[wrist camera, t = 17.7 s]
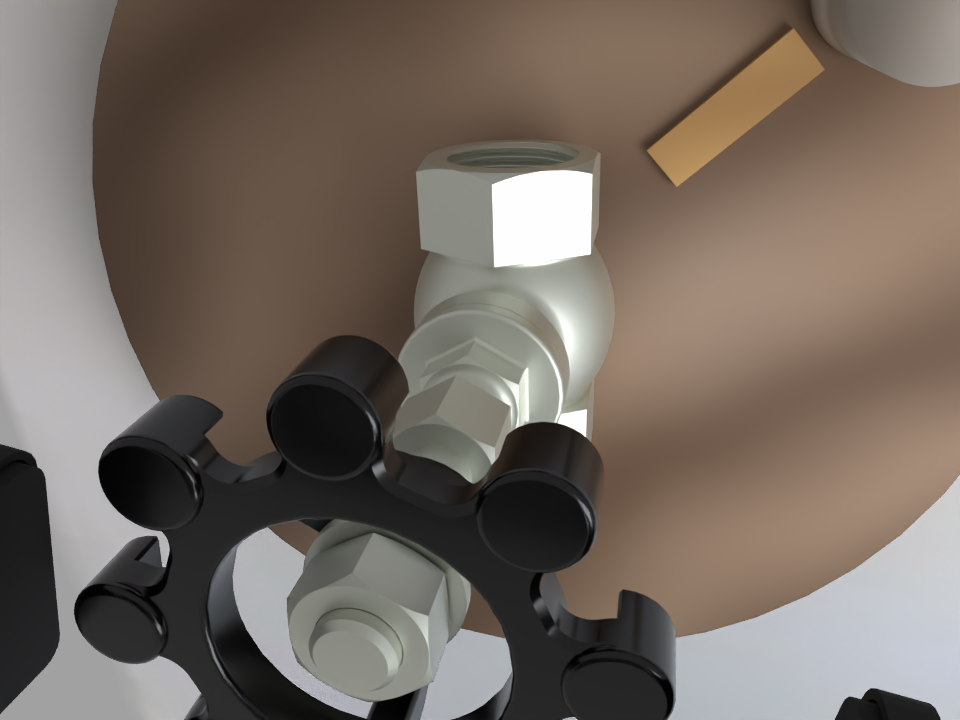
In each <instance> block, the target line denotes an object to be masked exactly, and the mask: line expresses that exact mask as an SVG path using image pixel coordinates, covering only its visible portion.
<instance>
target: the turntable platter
mask: <svg viewBox="0 0 960 720" xmlns="http://www.w3.org/2000/svg"><path fill="white" fill-rule="evenodd" d="M494 140H551V141H562V142H569V143H575V144H580V145H584V146H587V147H590V148H592V149H594V150H596V151H598V152H599V153H601V159H600V194H599V227H598V230H597V234H596V237H595V240H594V246H595V247H596V249H597V250H598V252H599V254H600V256H601V257H602V259H603V262H604V264H605V266H606V269H607V271H608V274H609V278H610V281H611V285H612V289H613V295H614V304H615V318H614V326H613V334H612V339H611V342H610V345H609V348H608V352H607V354H606V357H605V360H604V362H603V364H602V366H601V368H600V370H599V372H598V373H597V375H596V376H595V378H594V406H593V431H592V439H591V443H592V444H593V445H594V446H595V448H596V449H597V451H598V452H599V454H600V457H601V459H602V462H603V465H604V472H605V478H604V486H603V493H602V500H601V508H600V515H599V523H598V530H597V535H596V539H595V541H594V544H593V546H592V548H591V550H590V551H589V552H588V553H587V554H586V556H585V557H584V558H583V559H582V560H580V561H579V562H577V563H576V564H575V565H573V566H572V567H569V568H566V569H564V570H561V571H558V572H555V574H556V576H557V578H558V580H559V583H560V585H561V587H562V590H563V593H564V597H565V600H566V603H567V607H568V612H570V613H571V614H573V615H575V616H577V617H580V618H584V619H589V620H598V619H607V618H617V610H618V599H619V592H620V591H621V590H622V589H625V590H631V591H635V592H638V593H641V594H643V595H646V596H648V597H649V598H651V599H653V600H654V601H656V602H657V603H658V604H659V605H660V606H662V607H663V608H664V609H665V610H666V612H667V613H668V614H669V616H670V618H671V620H672V622H673V624H674V628H675V638H677V637H682V636H687V635H693V634H698V633H704V632H708V631H711V630H715V629H718V628H721V627H725V626H728V625H731V624H735V623H738V622H741V621H745V620H748V619H752V618H755V617H758V616H760V615H762V614H765V613H767V612H770V611H772V610H774V609H777V608H779V607H781V606H784V605H786V604H788V603H791V602H793V601H796V600H798V599H800V598H803V597H805V596H807V595H809V594H811V593H812V592H814V591H816V590H818V589H820V588H821V587H823V586H825V585H827V584H828V583H830V582H832V581H834V580H835V579H837V578H839V577H841V576H842V575H844V574H846V573H848V572H850V571H851V570H853V569H855V568H856V567H858V566H859V565H860V564H862V563H863V562H864V561H866V560H867V559H868V558H870V557H871V556H873V555H874V554H875V553H877V552H878V551H879V550H881V549H882V548H883V547H885V546H886V545H887V544H889V543H890V542H892V541H893V540H894V539H896V538H897V537H898V536H900V535H901V534H902V533H903V532H904V531H905V530H906V529H907V528H909V527H910V526H911V525H912V524H913V523H914V522H915V521H916V520H917V519H918V518H919V517H920V516H921V515H922V514H923V513H924V512H925V511H926V510H928V509H929V508H930V507H931V506H932V505H933V504H934V503H935V502H936V501H937V500H938V499H939V498H940V497H941V496H942V495H943V494H944V493H945V492H946V491H947V490H948V488H949V487H950V486H951V485H952V484H953V482H954V481H955V480H956V479H957V477H958V476H959V475H960V0H119V1H118V3H117V6H116V9H115V13H114V17H113V21H112V24H111V28H110V32H109V36H108V39H107V43H106V47H105V51H104V54H103V58H102V62H101V66H100V74H99V81H98V89H97V97H96V104H95V112H94V119H93V190H94V199H95V207H96V216H97V225H98V233H99V240H100V244H101V248H102V252H103V257H104V261H105V265H106V270H107V274H108V278H109V282H110V287H111V291H112V294H113V296H114V299H115V302H116V305H117V308H118V310H119V313H120V316H121V319H122V322H123V324H124V327H125V330H126V333H127V336H128V338H129V341H130V343H131V345H132V347H133V349H134V351H135V353H136V355H137V358H138V360H139V362H140V364H141V366H142V368H143V370H144V372H145V374H146V376H147V378H148V380H149V382H150V384H151V386H152V388H153V390H154V391H155V393H156V395H157V396H158V398H159V400H160V401H161V400H163V399H165V398H167V397H170V396H175V395H191V396H196V397H199V398H202V399H205V400H206V401H208V402H210V403H212V404H214V405H215V406H217V407H218V408H219V409H220V410H222V411H223V417H222V418H221V419H220V420H219V421H218V422H217V423H216V424H215V425H214V426H213V427H212V428H211V429H210V430H209V431H208V432H207V433H206V434H205V436H206V437H207V438H208V439H209V440H210V442H211V443H212V444H213V446H214V447H215V449H216V450H217V451H218V453H220V454H221V455H222V456H223V457H224V458H225V459H227V460H228V461H230V462H232V463H234V464H237V465H240V466H244V465H245V464H247V463H249V462H251V461H253V460H255V459H257V458H259V457H261V456H262V455H265V454H268V453H271V452H274V451H276V448H275V447H274V445H273V443H272V441H271V439H270V437H269V434H268V430H267V426H266V410H267V405H268V401H269V399H270V397H271V395H272V393H273V391H274V390H275V389H276V387H277V386H278V385H279V384H280V383H281V382H282V381H283V380H284V379H285V378H286V377H287V376H288V375H289V374H290V373H291V372H292V371H293V370H294V369H295V368H296V367H297V365H298V364H299V363H300V362H301V361H302V360H303V359H304V358H305V357H306V356H307V355H308V354H309V353H310V352H311V351H312V350H313V349H314V348H315V347H316V346H317V345H318V344H319V343H321V342H323V341H324V340H326V339H329V338H331V337H335V336H340V335H355V336H361V337H365V338H368V339H370V340H373V341H375V342H377V343H378V344H380V345H382V346H383V347H385V348H386V349H387V350H388V351H389V352H391V353H392V354H393V355H394V356H395V358H396V359H397V360H398V358H399V354H400V352H401V350H402V348H403V346H404V344H405V342H406V341H407V339H408V338H409V337H410V335H411V334H412V333H413V331H414V330H415V324H414V300H415V292H416V287H417V283H418V279H419V276H420V273H421V270H422V267H423V265H424V263H425V260H426V258H427V256H428V254H429V253H430V251H427V250H423V249H421V241H420V226H419V210H418V195H417V179H416V171H417V169H418V167H419V166H420V164H421V163H422V161H423V160H424V159H425V158H426V156H427V155H428V154H430V153H432V152H434V151H436V150H439V149H442V148H445V147H449V146H454V145H459V144H465V143H473V142H482V141H494ZM400 409H401V406H400V408H399V409H398V411H397V413H396V415H397V414H398V412H399V411H400ZM268 528H269V529H271V530H272V531H273V532H274V533H275V534H276V535H277V536H279V537H280V538H281V539H282V540H284V541H285V542H286V543H288V544H289V545H291V546H292V547H294V548H295V549H296V550H298V551H299V552H301V553H302V554H304V555H305V556H306V555H307V552H308V550H309V548H310V547H311V545H312V543H313V542H314V540H315V539H316V537H317V535H318V534H319V533H318V532H317V531H315V530H313V529H311V528H310V527H308V526H306V525H304V524H303V523H301V522H299V521H297V520H296V521H291V522H286V523H281V524H276V525H272V526H269V527H268ZM461 628H462V629H467V630H471V631H475V632H480V633H484V634H488V635H493V636H497V637H502V638H505V636H504V633H503V630H502V628H501V625H500V624H499V622H498V620H497V619H496V617H495V615H494V614H493V612H492V611H491V609H490V607H489V606H488V604H487V602H486V601H485V600H484V599H483V598H482V597H481V596H480V594H479V593H478V592H477V591H476V590H475V589H474V590H473V593H472V596H471V599H470V603H469V606H468V610H467V613H466V616H465V619H464V621H463V624H462V626H461Z"/></svg>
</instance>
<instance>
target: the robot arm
mask: <svg viewBox="0 0 960 720" xmlns="http://www.w3.org/2000/svg"><path fill="white" fill-rule="evenodd" d="M59 636H60V632H59V620H58V610H57V600H56V588H55V578H54V567H53V556H52V546H51V534H50V524H49V513H48V502H47V491H46V481H45V476H44V473H43V471H42V470H41V469H39V468H37V464H36V460H35V458H34V457H33V456H32V454H30V453H28V452H26V451H23V450H19V449H15V448H12V447H9V446H5V445H1V444H0V714H1V712H2V711H3V710H4V709H5V708H6V707H7V706H8V705H9V704H10V703H11V702H12V701H13V700H14V699H15V698H16V697H17V696H18V695H19V694H20V693H21V692H22V691H23V690H24V689H25V688H26V687H27V685H29V684H30V683H31V682H32V681H33V680H34V678H35V677H36V676H37V675H38V674H39V673H40V672H41V671H42V670H43V669H44V668H45V667H46V666H47V665H48V663H49V662H50V661H51V659H52V657H53V656H54V654H55V652H56V649H57V647H58V643H59ZM835 720H941V719H940V717H939V715H938V713H937V711H936V709H935V708H934V707H933V706H932V705H931V704H929V703H926V702H922V701H919V700H915V699H911V698H908V697H904V696H901V695H897V694H894V693H890V692H886V691H883V690H879V689H874V688H871V689H869V690H868V691H867V692H866V693H865V694H864V696H863V697H862V699H857V698H854V697H848V698H846V699H845V701H844V702H843V704H842V706H841V708H840V710H839V712H838V714H837V716H836V718H835Z"/></svg>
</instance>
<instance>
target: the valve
mask: <svg viewBox="0 0 960 720" xmlns="http://www.w3.org/2000/svg"><path fill="white" fill-rule="evenodd" d="M600 159H601V153H599V152H598V151H596V150H594V149H592V148H590V147H587V146H584V145H580V144H575V143H569V142H562V141H551V140H494V141H482V142H473V143H465V144H459V145H454V146H449V147H445V148H442V149H439V150H436V151H434V152H432V153H430V154H428V155H427V156H426V158H425V159H424V160H423V161H422V163H421V164H420V166H419V167H418V169H417V171H416V179H417V195H418V210H419V226H420V241H421V249H423V250H427V251H430V253H429V254H428V256H427V258H426V260H425V263H424V265H423V267H422V270H421V273H420V276H419V279H418V283H417V287H416V292H415V300H414V324H415V330H414V331H413V333H412V334H411V335H410V337H409V338H408V339H407V341H406V342H405V344H404V346H403V348H402V350H401V352H400V354H399V358H398V360H397V359H396V358H395V356H394V355H393V354H392V353H391V352H389V351H388V350H387V349H386V348H385V347H383V346H382V345H380V344H378V343H377V342H375V341H373V340H370V339H368V338H365V337H361V336H355V335H340V336H335V337H331V338H329V339H326V340H324V341H323V342H321V343H319V344H318V345H317V346H316V347H315V348H314V349H313V350H312V351H311V352H310V353H309V354H308V355H307V356H306V357H305V358H304V359H303V360H302V361H301V362H300V363H299V364H298V365H297V367H296V368H295V369H294V370H293V371H292V372H291V373H290V374H289V375H288V376H287V377H286V378H285V379H284V380H283V381H282V382H281V383H280V384H279V385H278V386H277V387H276V389H275V390H274V391H273V393H272V395H271V397H270V399H269V401H268V405H267V410H266V426H267V430H268V434H269V437H270V439H271V441H272V443H273V445H274V447H275V448H276V451H274V452H271V453H268V454H265V455H262V456H261V457H259V458H257V459H255V460H253V461H251V462H249V463H247V464H245V465H244V466H240V465H237V464H234V463H232V462H230V461H228V460H227V459H225V458H224V457H223V456H222V455H221V454H220V453H218V451H217V450H216V449H215V447H214V446H213V444H212V443H211V442H210V440H209V439H208V438H207V437H206V436H205V434H206V433H207V432H208V431H209V430H210V429H211V428H212V427H213V426H214V425H215V424H216V423H217V422H218V421H219V420H220V419H221V418H222V417H223V411H222V410H220V409H219V408H218V407H217V406H215V405H214V404H212V403H210V402H208V401H206V400H205V399H202V398H199V397H196V396H191V395H175V396H170V397H167V398H165V399H163V400H161V401H160V402H158V403H157V404H156V405H155V406H154V407H152V408H151V409H150V410H149V411H148V412H146V413H145V414H144V415H143V416H142V417H140V418H139V419H138V420H137V421H136V422H134V423H133V424H132V425H131V426H130V427H128V428H127V429H126V430H125V431H124V432H122V433H121V434H120V435H119V436H118V437H116V438H115V439H114V440H113V441H112V442H110V443H109V444H108V445H107V447H106V448H105V449H104V451H103V453H102V455H101V458H100V460H99V468H98V474H99V480H100V484H101V486H102V489H103V492H104V493H105V495H106V497H107V499H108V500H109V501H110V503H111V504H112V505H113V507H114V508H115V509H116V510H117V511H118V512H119V513H121V514H122V515H123V516H124V517H126V518H127V519H128V520H130V521H132V522H133V523H135V524H137V525H139V526H142V527H144V528H147V529H151V530H156V531H162V532H163V533H164V535H165V536H166V537H167V539H168V542H169V546H170V552H169V557H168V561H167V565H166V567H162V562H161V554H160V547H159V540H158V538H157V536H144V537H138V538H136V539H133V540H132V541H130V542H129V543H128V544H126V545H125V546H124V547H123V549H122V550H121V551H120V552H119V553H118V554H117V555H116V556H115V557H114V558H113V559H112V560H111V561H110V562H109V563H108V564H107V565H106V566H105V567H104V568H103V569H102V570H101V571H100V573H99V574H98V575H97V576H96V577H95V578H94V579H93V580H92V581H91V582H90V583H89V584H88V585H87V586H86V587H85V588H84V589H83V590H82V591H81V593H80V594H79V595H78V598H77V600H76V602H75V607H74V615H75V620H76V623H77V626H78V628H79V630H80V632H81V634H82V635H83V637H84V638H85V639H86V640H87V641H88V642H89V643H90V644H91V645H92V646H93V647H94V648H95V649H96V650H98V651H99V652H100V653H102V654H104V655H105V656H107V657H109V658H111V659H113V660H116V661H119V662H123V663H128V664H140V663H147V662H149V661H151V660H154V659H155V658H157V657H158V656H162V657H165V658H167V659H169V660H171V661H173V662H175V663H176V664H178V665H179V666H180V667H182V668H183V669H184V670H185V671H186V672H187V673H188V675H189V676H190V678H191V679H192V680H193V682H194V683H195V685H196V686H197V688H198V689H199V691H200V692H201V694H200V696H199V697H198V699H197V700H196V702H195V704H194V705H193V707H192V708H191V710H190V711H189V713H188V714H187V716H186V717H185V719H184V720H420V718H421V715H422V711H423V707H424V703H425V699H426V694H427V689H428V684H429V683H431V682H433V681H434V678H435V675H436V672H437V669H438V666H439V663H440V660H441V657H442V654H443V651H444V649H445V646H446V644H447V643H448V642H449V641H450V640H451V639H452V638H453V637H454V636H455V635H456V634H457V633H458V631H459V630H460V628H461V626H462V624H463V621H464V619H465V616H466V613H467V610H468V606H469V603H470V599H471V596H472V593H473V590H474V589H475V590H476V591H477V592H478V593H479V594H480V596H481V597H482V598H483V599H484V600H485V601H486V602H487V604H488V606H489V607H490V609H491V611H492V612H493V614H494V615H495V617H496V619H497V620H498V622H499V624H500V625H501V628H502V630H503V633H504V636H505V638H506V641H507V643H508V646H509V651H510V658H511V664H512V673H511V675H510V676H509V678H508V680H507V682H506V683H505V685H504V687H503V688H502V689H501V690H500V691H499V692H498V693H497V694H495V695H494V696H493V697H492V698H491V699H490V700H489V701H488V702H487V703H486V704H484V705H483V706H481V707H480V708H478V709H476V710H475V711H473V712H471V713H469V714H466V715H464V716H461V717H459V718H456V719H452V720H562V719H564V718H568V717H575V718H577V719H578V720H668V718H669V716H670V715H671V713H672V711H673V709H674V705H675V701H676V652H675V628H674V624H673V622H672V620H671V618H670V616H669V614H668V613H667V612H666V610H665V609H664V608H663V607H662V606H660V605H659V604H658V603H657V602H656V601H654V600H653V599H651V598H649V597H648V596H646V595H643V594H641V593H638V592H635V591H631V590H625V589H622V590H621V591H620V592H619V599H618V610H617V618H607V619H598V620H589V619H584V618H580V617H577V616H575V615H573V614H571V613H570V612H568V607H567V603H566V600H565V597H564V593H563V590H562V587H561V585H560V583H559V580H558V578H557V576H556V574H555V572H558V571H561V570H564V569H566V568H569V567H572V566H573V565H575V564H576V563H577V562H579V561H580V560H582V559H583V558H584V557H585V556H586V554H587V553H588V552H589V551H590V550H591V548H592V546H593V544H594V541H595V539H596V535H597V530H598V523H599V515H600V508H601V500H602V493H603V486H604V478H605V472H604V465H603V462H602V459H601V457H600V454H599V452H598V451H597V449H596V448H595V446H594V445H593V444H592V443H591V439H592V431H593V406H594V378H595V376H596V375H597V373H598V372H599V370H600V368H601V366H602V364H603V362H604V360H605V357H606V354H607V352H608V348H609V345H610V342H611V339H612V334H613V326H614V318H615V304H614V295H613V289H612V285H611V281H610V278H609V274H608V271H607V269H606V266H605V264H604V262H603V259H602V257H601V256H600V254H599V252H598V250H597V249H596V247H595V246H594V240H595V237H596V234H597V230H598V227H599V194H600ZM400 406H401V409H400V411H399V412H398V414H397V415H396V413H397V411H398V409H399V408H400ZM296 520H297V521H299V522H301V523H303V524H304V525H306V526H308V527H310V528H311V529H313V530H315V531H317V532H318V533H319V534H318V535H317V537H316V539H315V540H314V542H313V543H312V545H311V547H310V548H309V550H308V552H307V555H306V557H305V561H304V567H303V573H302V575H301V577H300V578H299V580H298V582H297V583H296V585H295V586H294V588H293V590H292V591H291V593H290V594H289V596H288V598H287V613H288V626H289V633H290V639H291V644H292V648H293V651H294V654H295V657H296V659H297V662H298V663H299V664H300V665H301V666H302V667H304V668H305V669H306V670H307V671H308V672H310V673H311V674H312V675H313V676H315V677H316V678H317V679H319V680H320V681H322V682H323V683H325V684H327V685H328V686H330V687H332V688H334V689H335V690H337V691H339V692H342V693H344V694H346V695H348V696H351V697H354V698H357V699H360V700H363V701H366V702H373V704H372V706H371V709H370V711H369V714H368V716H367V718H366V719H365V718H362V717H358V716H355V715H352V714H349V713H346V712H343V711H340V710H338V709H335V708H333V707H331V706H329V705H327V704H325V703H323V702H321V701H319V700H317V699H316V698H314V697H312V696H310V695H309V694H307V693H306V692H304V691H303V690H301V689H300V688H298V687H297V686H296V685H294V684H293V683H292V682H291V681H289V680H288V679H287V678H286V677H284V676H283V675H282V674H281V673H280V672H279V670H278V669H277V668H276V667H275V666H274V665H273V664H272V663H271V662H270V661H269V660H268V659H267V658H266V657H265V656H264V655H263V654H262V652H261V651H260V649H259V648H258V646H257V645H256V643H255V642H254V640H253V639H252V637H251V636H250V634H249V633H248V631H247V630H246V628H245V626H244V623H243V621H242V619H241V617H240V614H239V611H238V608H237V605H236V601H235V596H234V591H233V578H232V575H233V569H234V563H235V557H236V550H237V548H238V546H239V545H240V544H241V542H242V541H243V540H245V539H246V538H248V537H249V536H251V535H252V534H254V533H256V532H257V531H259V530H262V529H264V528H267V527H269V526H272V525H276V524H281V523H286V522H291V521H296Z"/></svg>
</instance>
